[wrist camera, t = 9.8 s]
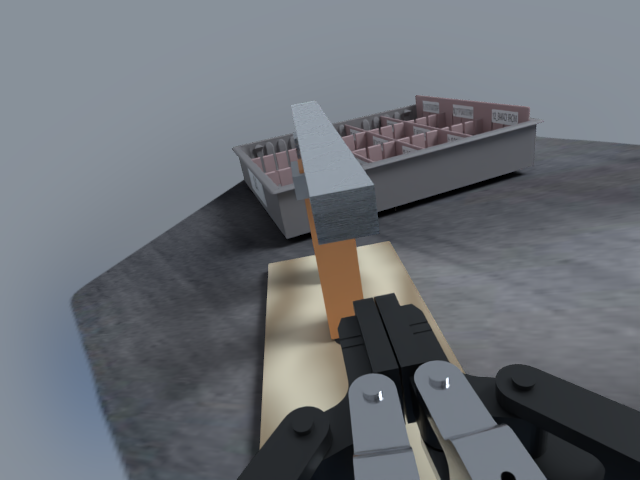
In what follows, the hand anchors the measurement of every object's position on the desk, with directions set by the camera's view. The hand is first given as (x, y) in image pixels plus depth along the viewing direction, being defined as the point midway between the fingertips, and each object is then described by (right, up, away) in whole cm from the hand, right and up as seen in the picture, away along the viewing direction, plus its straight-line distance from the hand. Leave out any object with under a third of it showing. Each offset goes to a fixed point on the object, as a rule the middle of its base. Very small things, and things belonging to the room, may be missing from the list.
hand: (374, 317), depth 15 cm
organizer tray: (+7, +12, +56) cm, 57 cm away
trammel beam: (0, -4, +20) cm, 20 cm away
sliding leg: (0, -4, +20) cm, 20 cm away
